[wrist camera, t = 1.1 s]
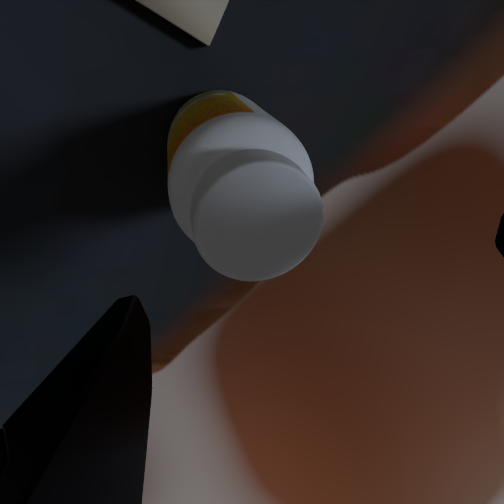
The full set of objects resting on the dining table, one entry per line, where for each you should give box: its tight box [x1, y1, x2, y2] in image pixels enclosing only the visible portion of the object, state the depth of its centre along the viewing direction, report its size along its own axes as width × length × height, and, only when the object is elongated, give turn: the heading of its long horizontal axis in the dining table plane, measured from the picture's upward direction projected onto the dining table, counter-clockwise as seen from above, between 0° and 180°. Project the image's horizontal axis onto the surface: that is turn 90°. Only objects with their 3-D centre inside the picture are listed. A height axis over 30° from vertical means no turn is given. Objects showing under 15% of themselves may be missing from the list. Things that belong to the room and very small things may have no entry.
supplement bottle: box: [167, 90, 323, 281], centre depth 14 cm, size 5×5×10 cm
